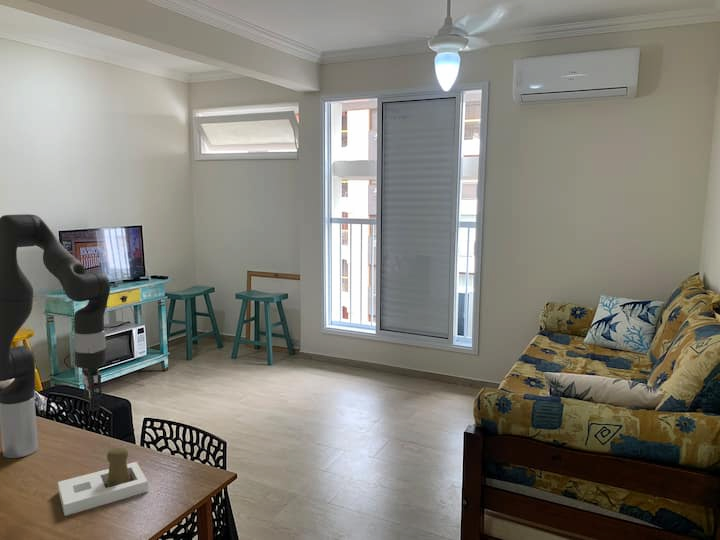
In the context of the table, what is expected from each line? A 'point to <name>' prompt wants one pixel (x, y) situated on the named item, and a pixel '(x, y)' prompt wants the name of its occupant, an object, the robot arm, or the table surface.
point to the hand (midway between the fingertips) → (92, 404)
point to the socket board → (98, 489)
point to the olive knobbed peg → (117, 467)
